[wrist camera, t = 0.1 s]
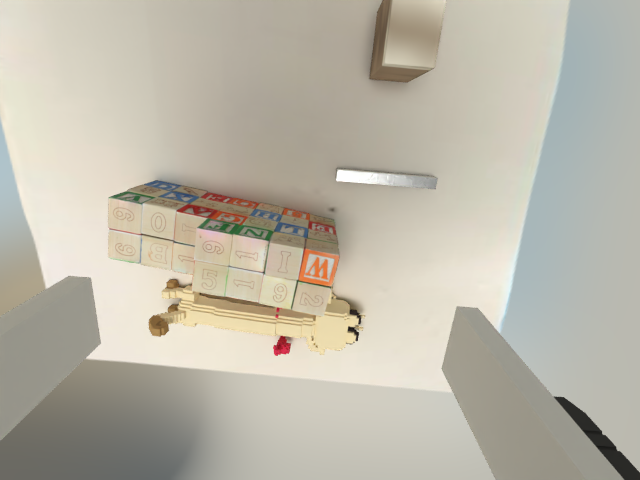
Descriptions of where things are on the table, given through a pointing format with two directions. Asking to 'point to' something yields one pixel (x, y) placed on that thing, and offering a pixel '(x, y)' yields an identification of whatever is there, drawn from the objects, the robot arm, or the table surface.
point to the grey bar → (386, 178)
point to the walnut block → (406, 39)
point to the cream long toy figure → (261, 320)
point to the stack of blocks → (227, 244)
